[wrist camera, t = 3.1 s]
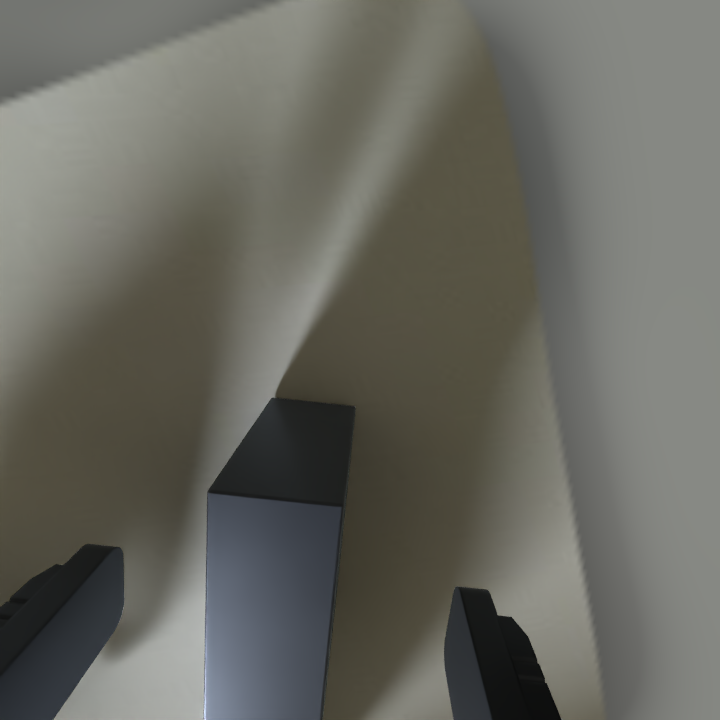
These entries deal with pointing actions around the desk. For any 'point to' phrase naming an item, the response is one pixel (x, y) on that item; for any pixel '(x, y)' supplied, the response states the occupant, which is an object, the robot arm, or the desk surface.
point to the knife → (276, 563)
